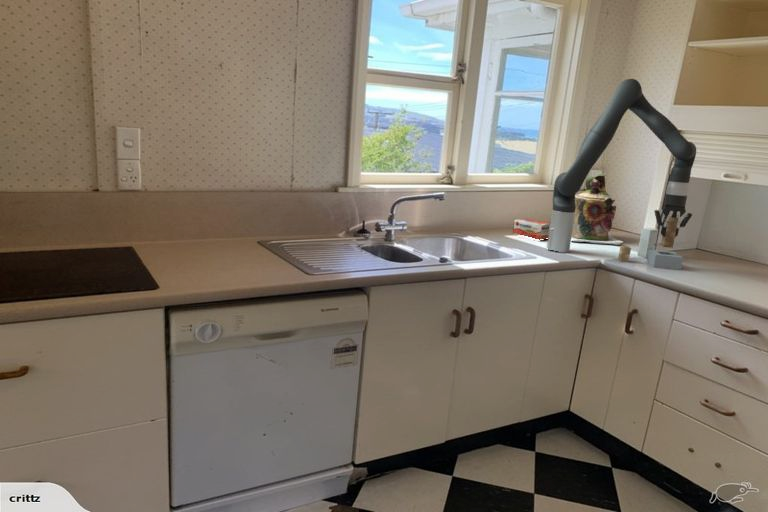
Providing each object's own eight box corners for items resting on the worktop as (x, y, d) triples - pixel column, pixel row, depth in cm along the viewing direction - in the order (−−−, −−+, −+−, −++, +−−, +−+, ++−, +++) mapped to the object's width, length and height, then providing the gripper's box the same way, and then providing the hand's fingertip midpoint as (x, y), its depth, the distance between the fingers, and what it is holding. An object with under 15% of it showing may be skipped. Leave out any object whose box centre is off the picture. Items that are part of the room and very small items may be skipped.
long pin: (663, 247, 217) (669, 217, 214) (660, 245, 220) (666, 215, 217) (672, 247, 216) (678, 218, 214) (669, 246, 220) (675, 216, 217)
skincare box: (646, 258, 231) (651, 230, 229) (636, 255, 235) (641, 228, 232) (654, 256, 235) (659, 229, 232) (644, 254, 238) (649, 227, 235)
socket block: (653, 267, 216) (655, 254, 215) (646, 261, 226) (648, 249, 225) (680, 269, 214) (682, 257, 213) (672, 263, 224) (674, 251, 223)
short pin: (619, 261, 222) (622, 247, 221) (618, 259, 226) (620, 245, 224) (628, 262, 222) (631, 248, 220) (626, 260, 225) (629, 246, 224)
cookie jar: (556, 232, 277) (565, 169, 270) (605, 235, 277) (615, 172, 269) (571, 243, 254) (581, 173, 246) (624, 246, 253) (636, 177, 245)
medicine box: (511, 235, 262) (513, 219, 260) (521, 234, 268) (523, 218, 266) (539, 241, 252) (541, 224, 250) (548, 240, 257) (551, 223, 255)
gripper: (660, 193, 211) (652, 236, 215) (699, 196, 208) (691, 240, 213) (654, 190, 218) (647, 233, 222) (692, 193, 216) (684, 236, 220)
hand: (668, 236), depth 217 cm, fingers closed on long pin, 3 cm apart
